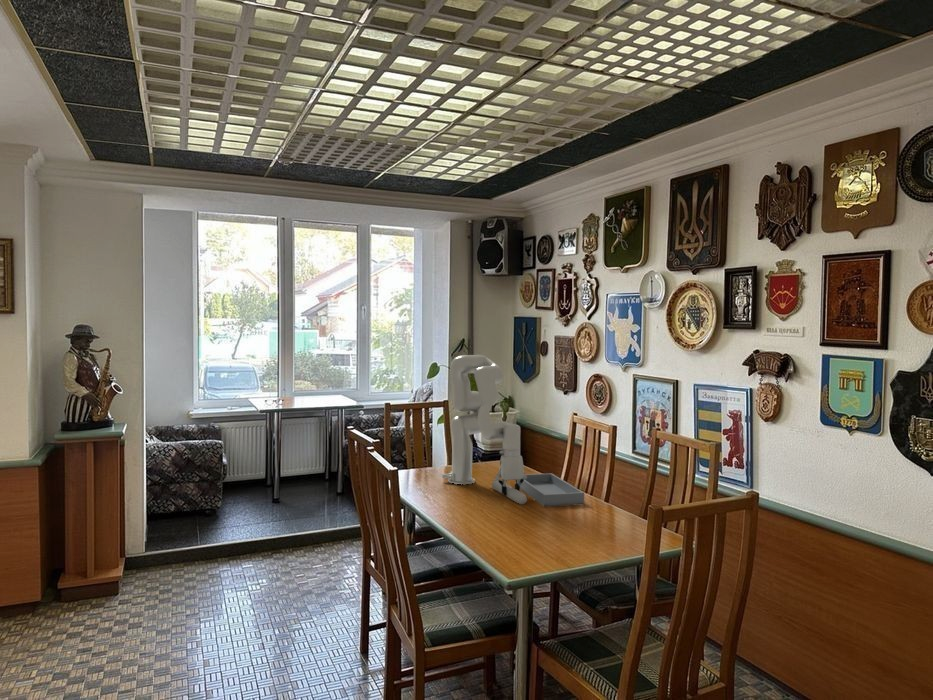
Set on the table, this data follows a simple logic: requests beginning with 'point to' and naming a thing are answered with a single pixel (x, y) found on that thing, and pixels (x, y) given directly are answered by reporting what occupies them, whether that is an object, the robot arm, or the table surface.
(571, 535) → the table surface
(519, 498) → the tube
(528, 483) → the bin
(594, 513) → the table surface
